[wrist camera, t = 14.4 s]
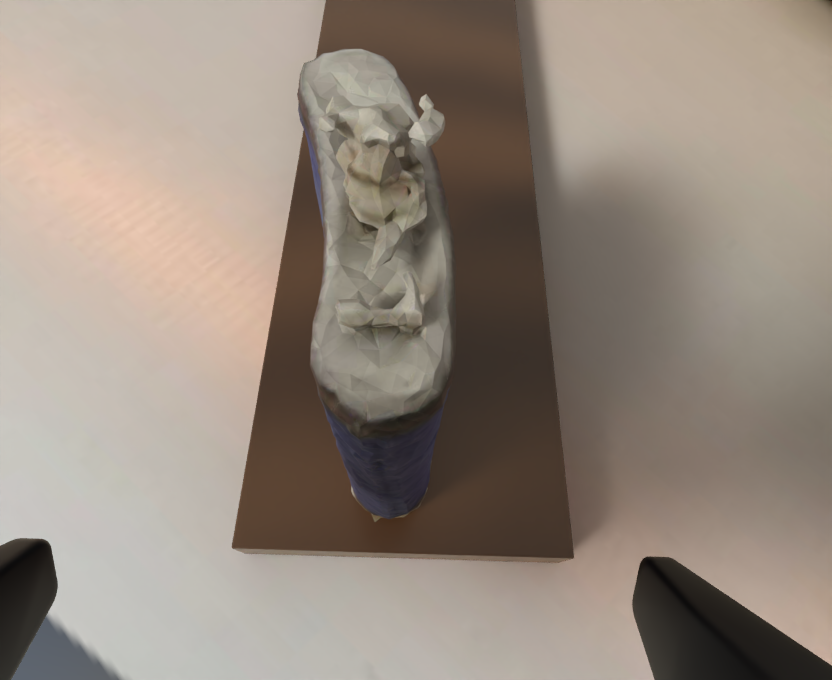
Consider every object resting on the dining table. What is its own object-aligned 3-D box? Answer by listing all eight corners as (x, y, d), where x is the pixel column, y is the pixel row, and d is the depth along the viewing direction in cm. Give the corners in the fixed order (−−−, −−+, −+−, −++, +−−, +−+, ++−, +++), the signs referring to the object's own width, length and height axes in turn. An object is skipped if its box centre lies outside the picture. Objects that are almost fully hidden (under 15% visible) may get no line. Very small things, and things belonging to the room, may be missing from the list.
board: (559, 562, 17) (575, 558, 16) (243, 553, 16) (230, 548, 15) (498, -85, 35) (502, -112, 34) (348, -95, 35) (347, -124, 34)
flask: (329, 270, 20) (278, -48, 10) (407, 264, 20) (428, -51, 11) (349, 529, 16) (296, 399, 6) (447, 515, 16) (542, 372, 6)
